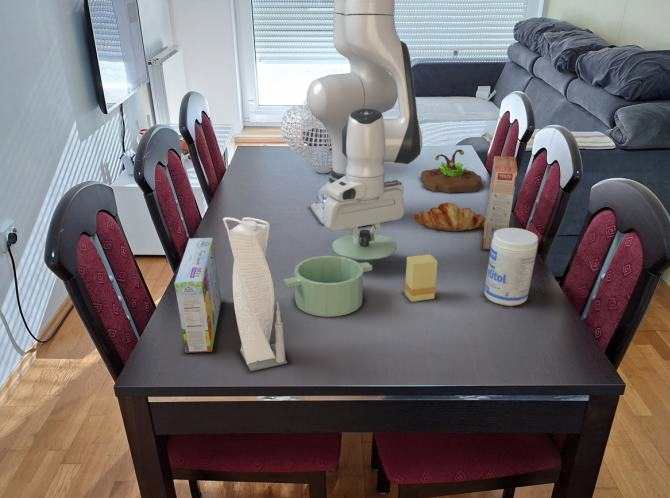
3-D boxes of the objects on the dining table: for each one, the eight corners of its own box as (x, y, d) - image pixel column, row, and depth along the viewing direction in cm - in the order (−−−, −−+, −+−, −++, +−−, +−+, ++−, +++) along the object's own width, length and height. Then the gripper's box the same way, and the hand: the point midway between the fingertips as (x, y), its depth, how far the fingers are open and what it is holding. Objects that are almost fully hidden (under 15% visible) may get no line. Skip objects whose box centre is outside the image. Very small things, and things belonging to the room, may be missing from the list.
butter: (404, 293, 145) (406, 256, 141) (427, 290, 147) (430, 253, 142) (411, 301, 142) (413, 264, 137) (434, 298, 144) (438, 261, 139)
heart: (280, 179, 217) (277, 110, 206) (285, 166, 231) (282, 100, 219) (364, 180, 217) (365, 111, 206) (363, 167, 231) (365, 101, 219)
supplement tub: (475, 296, 145) (483, 234, 137) (500, 284, 150) (509, 223, 143) (511, 311, 139) (522, 247, 131) (536, 298, 144) (547, 236, 137)
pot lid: (321, 244, 160) (320, 226, 157) (376, 233, 166) (376, 216, 164) (351, 266, 148) (351, 248, 145) (409, 254, 154) (409, 236, 152)
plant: (486, 193, 206) (490, 158, 200) (424, 193, 206) (427, 157, 201) (476, 175, 223) (479, 142, 218) (419, 174, 224) (421, 141, 218)
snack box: (196, 302, 141) (187, 237, 133) (222, 301, 141) (215, 236, 134) (183, 354, 123) (172, 282, 115) (213, 352, 123) (205, 281, 116)
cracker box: (506, 252, 166) (518, 171, 155) (482, 250, 167) (492, 169, 156) (505, 232, 178) (517, 156, 167) (483, 230, 179) (493, 154, 168)
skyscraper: (242, 372, 118) (230, 226, 103) (231, 351, 124) (217, 210, 109) (287, 363, 121) (280, 219, 106) (273, 342, 127) (265, 204, 112)
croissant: (486, 235, 185) (488, 207, 184) (492, 231, 175) (494, 201, 174) (411, 231, 186) (413, 203, 185) (413, 227, 176) (415, 197, 175)
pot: (274, 296, 144) (272, 265, 140) (353, 279, 152) (354, 249, 148) (300, 325, 133) (299, 292, 129) (385, 305, 141) (386, 273, 137)
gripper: (396, 175, 155) (394, 230, 162) (319, 187, 147) (320, 244, 154) (410, 182, 151) (407, 238, 158) (332, 195, 142) (332, 253, 149)
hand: (364, 241), depth 156 cm, fingers closed on pot lid, 2 cm apart
